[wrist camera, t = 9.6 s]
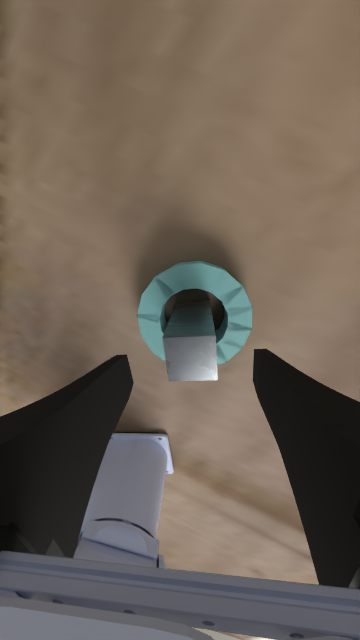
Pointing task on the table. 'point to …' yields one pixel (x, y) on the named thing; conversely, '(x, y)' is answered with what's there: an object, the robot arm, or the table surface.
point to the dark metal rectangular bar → (191, 342)
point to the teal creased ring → (205, 279)
